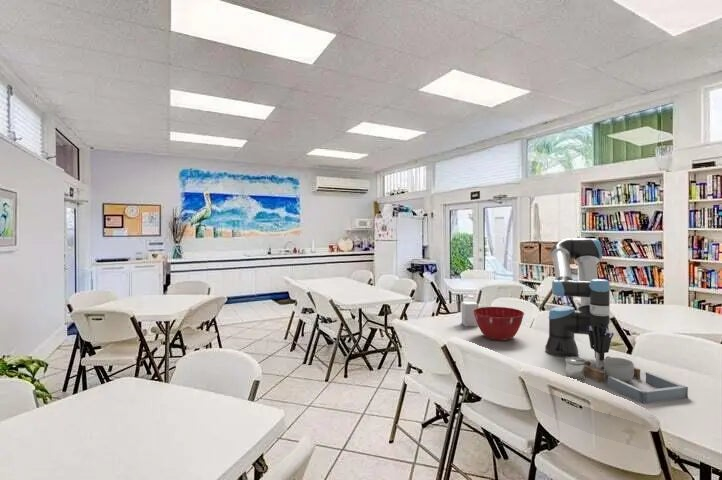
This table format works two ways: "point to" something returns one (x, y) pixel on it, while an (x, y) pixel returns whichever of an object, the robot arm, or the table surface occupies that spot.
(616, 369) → the teacup
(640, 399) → the dock
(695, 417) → the table surface
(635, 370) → the wooden u-shaped bracket
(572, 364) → the sugar tin
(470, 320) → the supplement box
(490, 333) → the mixing bowl
